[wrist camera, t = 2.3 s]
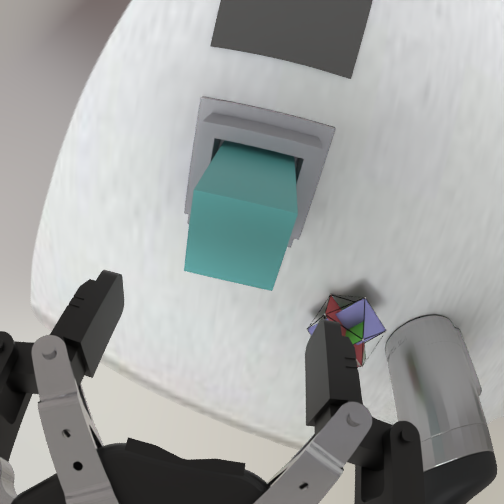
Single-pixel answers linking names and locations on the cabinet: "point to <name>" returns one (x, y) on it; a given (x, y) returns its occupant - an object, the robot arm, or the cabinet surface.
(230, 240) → the teal block
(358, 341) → the geometric puzzle
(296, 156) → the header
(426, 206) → the cabinet surface
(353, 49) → the mat
